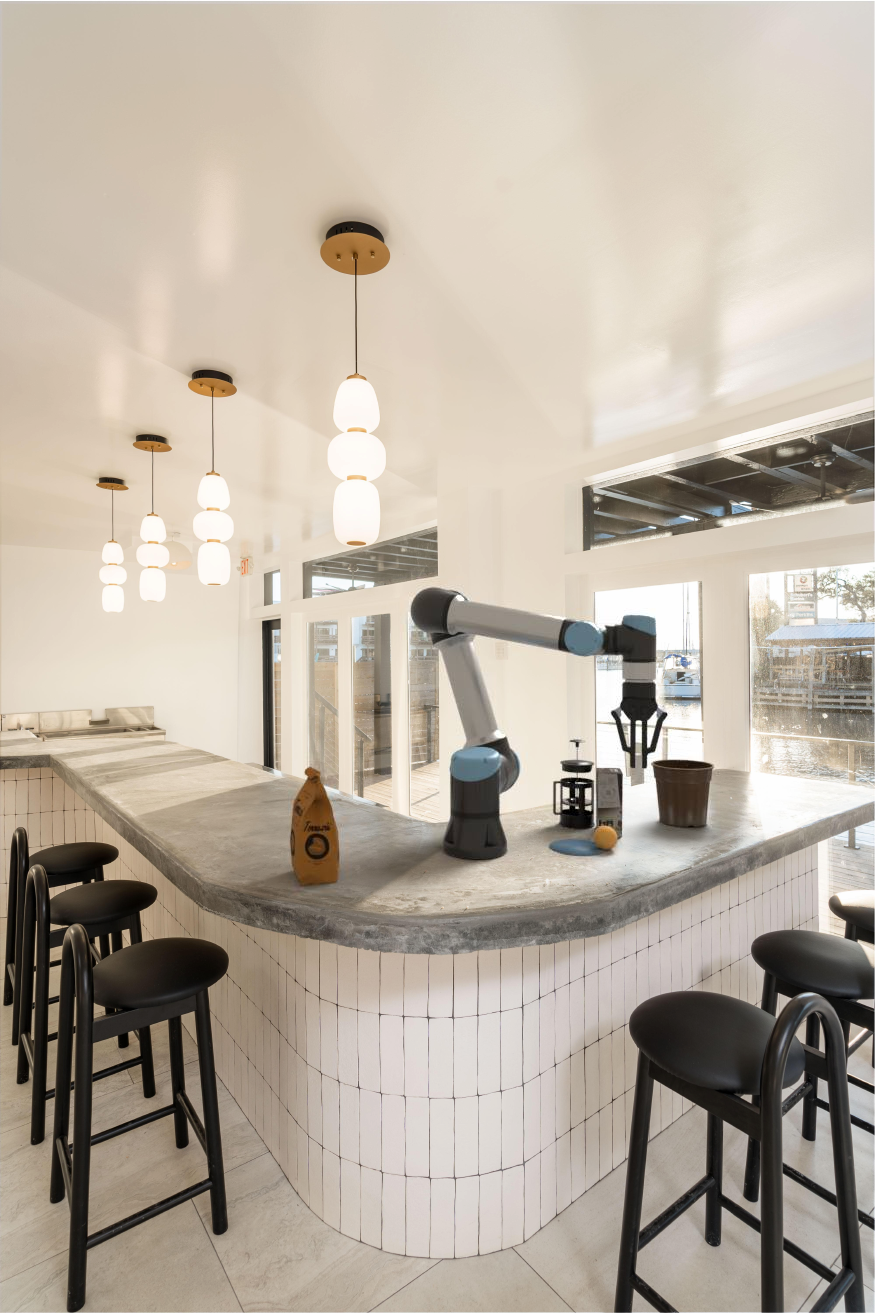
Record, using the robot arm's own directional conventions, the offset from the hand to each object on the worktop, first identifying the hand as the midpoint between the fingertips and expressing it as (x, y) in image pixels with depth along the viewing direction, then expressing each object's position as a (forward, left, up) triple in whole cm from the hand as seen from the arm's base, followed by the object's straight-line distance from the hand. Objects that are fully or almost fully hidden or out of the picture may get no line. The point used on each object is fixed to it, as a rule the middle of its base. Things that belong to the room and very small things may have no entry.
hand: (638, 782), depth 155 cm
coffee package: (-65, -36, -17) cm, 76 cm away
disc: (-14, 0, -16) cm, 22 cm away
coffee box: (-7, +16, -17) cm, 24 cm away
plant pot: (+12, +32, -17) cm, 38 cm away
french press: (-16, +21, -17) cm, 31 cm away
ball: (-7, 0, -14) cm, 16 cm away
